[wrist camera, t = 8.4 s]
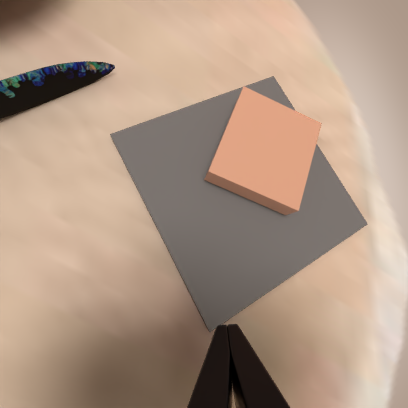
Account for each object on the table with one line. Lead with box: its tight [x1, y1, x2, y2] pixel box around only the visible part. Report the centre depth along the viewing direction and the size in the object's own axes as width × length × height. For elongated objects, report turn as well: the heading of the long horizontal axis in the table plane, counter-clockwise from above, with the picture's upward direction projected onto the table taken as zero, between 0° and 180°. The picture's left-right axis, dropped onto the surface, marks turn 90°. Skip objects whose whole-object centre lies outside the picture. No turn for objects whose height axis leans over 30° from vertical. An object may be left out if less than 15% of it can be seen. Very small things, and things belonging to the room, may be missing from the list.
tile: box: [204, 87, 322, 215], centre depth 20 cm, size 2×8×9 cm
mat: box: [110, 76, 367, 332], centre depth 20 cm, size 18×18×1 cm
